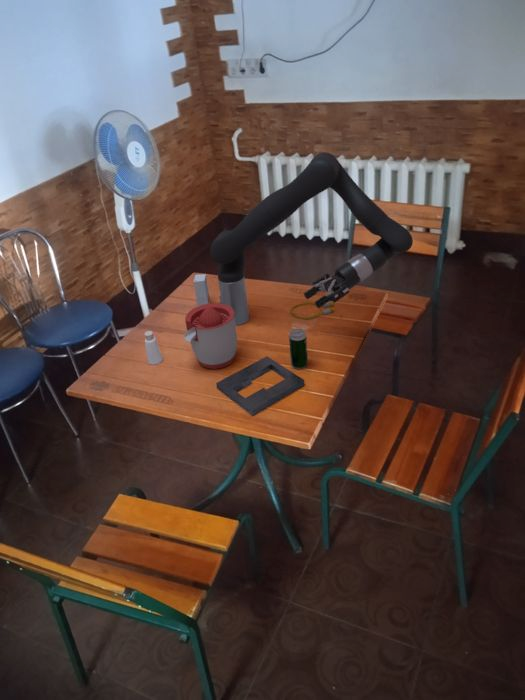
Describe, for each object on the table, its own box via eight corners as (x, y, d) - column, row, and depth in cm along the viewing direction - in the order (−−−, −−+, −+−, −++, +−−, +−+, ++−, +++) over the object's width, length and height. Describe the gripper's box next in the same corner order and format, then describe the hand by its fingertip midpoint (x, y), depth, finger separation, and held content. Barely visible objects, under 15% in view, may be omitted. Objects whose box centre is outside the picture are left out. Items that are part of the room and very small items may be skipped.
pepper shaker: (157, 353, 191) (150, 326, 185) (166, 359, 188) (160, 331, 181) (144, 361, 188) (136, 333, 182) (153, 367, 185) (146, 339, 178)
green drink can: (293, 371, 175) (291, 339, 169) (289, 361, 180) (286, 330, 173) (310, 367, 176) (308, 335, 170) (305, 358, 181) (303, 327, 174)
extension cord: (329, 323, 198) (328, 318, 197) (286, 318, 203) (286, 314, 202) (337, 306, 207) (336, 301, 206) (296, 302, 212) (296, 297, 211)
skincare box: (209, 309, 213) (204, 281, 207) (198, 309, 214) (193, 281, 207) (210, 301, 218) (206, 273, 212) (199, 302, 219) (195, 274, 212)
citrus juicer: (180, 361, 186) (169, 309, 175) (223, 340, 194) (215, 289, 183) (205, 382, 175) (195, 328, 164) (250, 359, 183) (243, 306, 172)
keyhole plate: (267, 361, 181) (266, 356, 180) (304, 385, 169) (304, 379, 168) (217, 388, 172) (216, 383, 171) (252, 415, 160) (251, 410, 158)
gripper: (338, 256, 175) (296, 284, 174) (360, 267, 163) (314, 298, 162) (348, 275, 179) (306, 303, 178) (369, 287, 167) (325, 318, 166)
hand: (310, 301), depth 170 cm, fingers open, 8 cm apart
